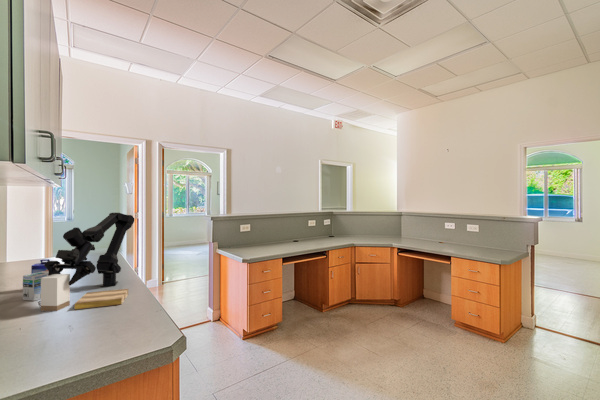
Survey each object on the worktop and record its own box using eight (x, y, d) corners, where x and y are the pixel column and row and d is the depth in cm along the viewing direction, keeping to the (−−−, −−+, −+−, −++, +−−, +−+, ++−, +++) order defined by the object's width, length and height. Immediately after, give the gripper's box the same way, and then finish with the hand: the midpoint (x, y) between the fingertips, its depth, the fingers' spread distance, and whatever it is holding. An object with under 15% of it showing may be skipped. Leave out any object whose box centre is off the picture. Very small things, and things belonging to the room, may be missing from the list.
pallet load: (54, 305, 117) (54, 274, 117) (69, 305, 117) (69, 274, 117) (40, 310, 111) (40, 277, 111) (57, 310, 111) (57, 278, 111)
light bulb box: (33, 301, 121) (33, 276, 121) (21, 300, 123) (21, 275, 123) (59, 293, 132) (59, 270, 132) (48, 292, 133) (48, 269, 133)
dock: (86, 298, 125) (86, 292, 125) (128, 294, 131) (128, 288, 131) (74, 309, 112) (74, 303, 112) (121, 304, 118) (121, 298, 118)
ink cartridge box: (30, 290, 135) (30, 260, 135) (36, 287, 141) (36, 258, 141) (55, 288, 139) (56, 259, 139) (60, 285, 144) (60, 257, 144)
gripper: (48, 242, 121) (22, 274, 110) (91, 242, 121) (69, 274, 110) (63, 256, 129) (40, 288, 117) (103, 257, 128) (84, 288, 117)
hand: (58, 284), depth 115 cm, fingers open, 9 cm apart
